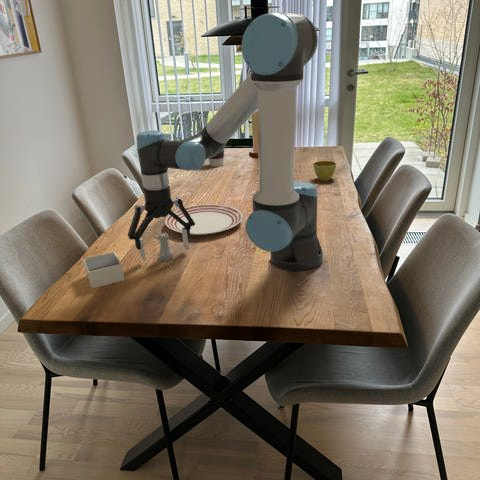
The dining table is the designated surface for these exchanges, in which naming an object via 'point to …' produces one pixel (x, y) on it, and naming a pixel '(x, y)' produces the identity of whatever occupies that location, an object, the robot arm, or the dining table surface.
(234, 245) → the dining table surface
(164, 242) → the rook chess piece
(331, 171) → the flower pot
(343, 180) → the dining table surface
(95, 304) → the dining table surface
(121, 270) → the stand
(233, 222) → the dinner plate
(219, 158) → the coffee cup
